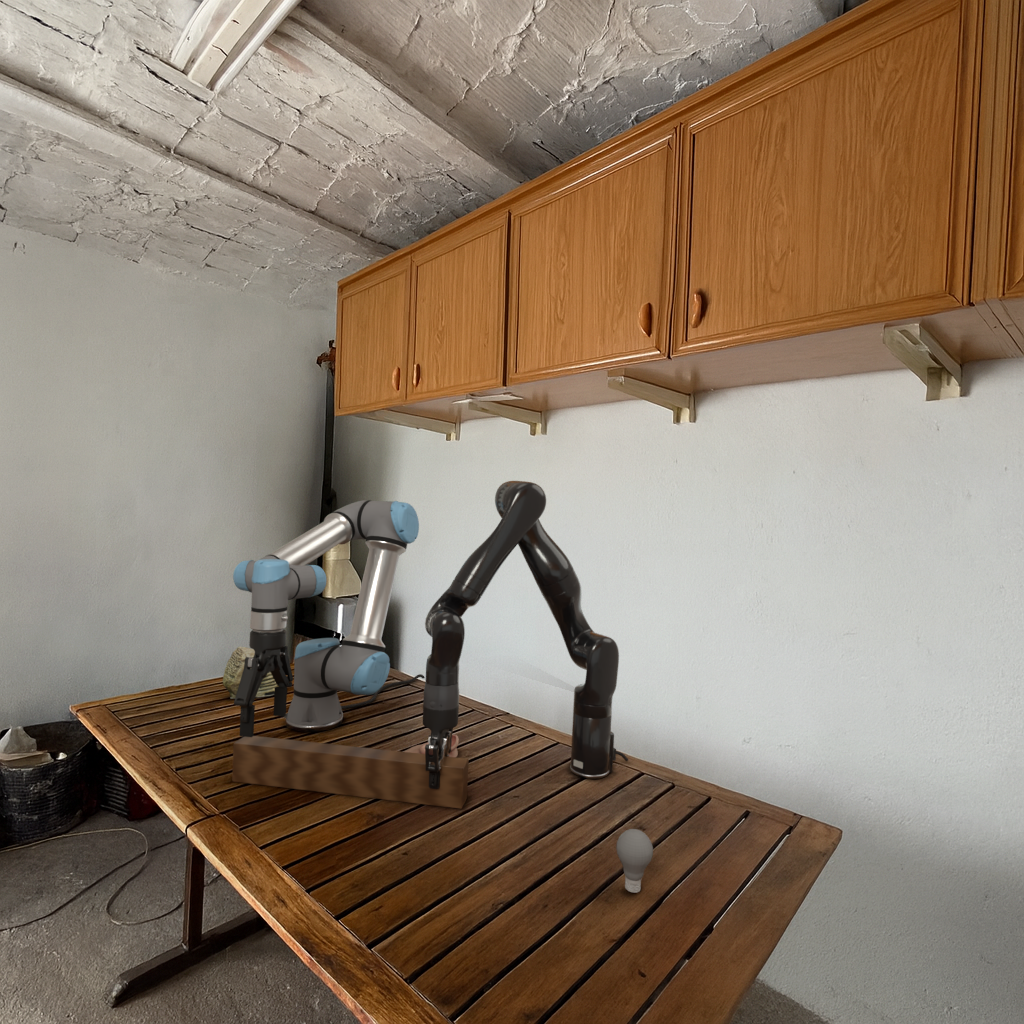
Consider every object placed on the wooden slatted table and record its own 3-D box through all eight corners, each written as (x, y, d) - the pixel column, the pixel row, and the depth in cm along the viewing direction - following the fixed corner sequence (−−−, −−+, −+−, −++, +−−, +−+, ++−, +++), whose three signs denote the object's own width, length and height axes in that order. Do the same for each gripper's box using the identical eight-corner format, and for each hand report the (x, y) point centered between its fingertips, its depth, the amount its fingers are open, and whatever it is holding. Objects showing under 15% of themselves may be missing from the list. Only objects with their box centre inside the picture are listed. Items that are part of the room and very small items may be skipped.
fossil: (218, 695, 195) (220, 647, 195) (278, 685, 208) (279, 640, 207) (228, 703, 189) (230, 653, 188) (289, 692, 201) (290, 645, 201)
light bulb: (610, 879, 108) (613, 822, 108) (644, 879, 109) (647, 822, 109) (619, 902, 102) (622, 840, 102) (655, 901, 103) (658, 840, 103)
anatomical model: (397, 744, 153) (414, 727, 164) (396, 760, 153) (413, 743, 165) (449, 750, 151) (463, 733, 162) (449, 767, 151) (462, 749, 162)
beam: (232, 781, 139) (233, 743, 139) (244, 771, 144) (246, 734, 144) (461, 808, 131) (463, 768, 131) (467, 797, 136) (468, 758, 136)
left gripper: (252, 642, 127) (247, 747, 127) (310, 621, 152) (306, 709, 152) (218, 639, 128) (213, 743, 128) (281, 619, 153) (277, 706, 153)
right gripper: (449, 715, 127) (446, 799, 127) (466, 694, 141) (462, 770, 141) (413, 712, 128) (410, 795, 128) (433, 691, 142) (430, 766, 142)
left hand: (263, 725), depth 140 cm, fingers open, 13 cm apart
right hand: (437, 781), depth 135 cm, fingers closed on beam, 5 cm apart
